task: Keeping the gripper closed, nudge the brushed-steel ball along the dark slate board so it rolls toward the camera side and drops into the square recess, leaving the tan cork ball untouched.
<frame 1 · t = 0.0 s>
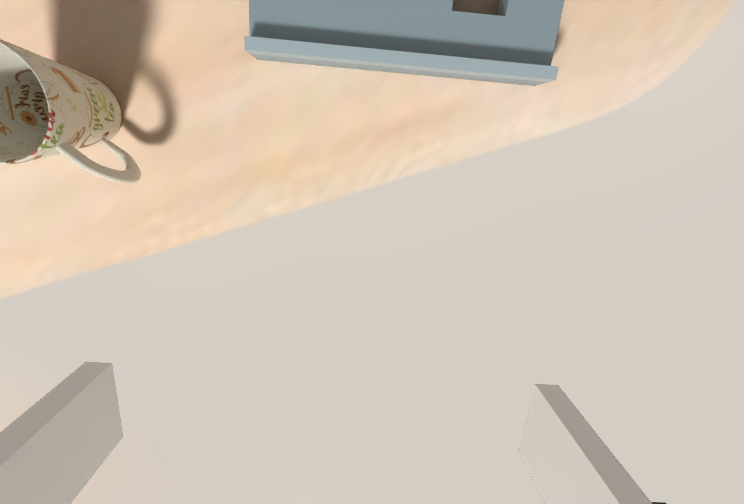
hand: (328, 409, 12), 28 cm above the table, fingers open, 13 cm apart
mug: (110, 126, 35), on the table
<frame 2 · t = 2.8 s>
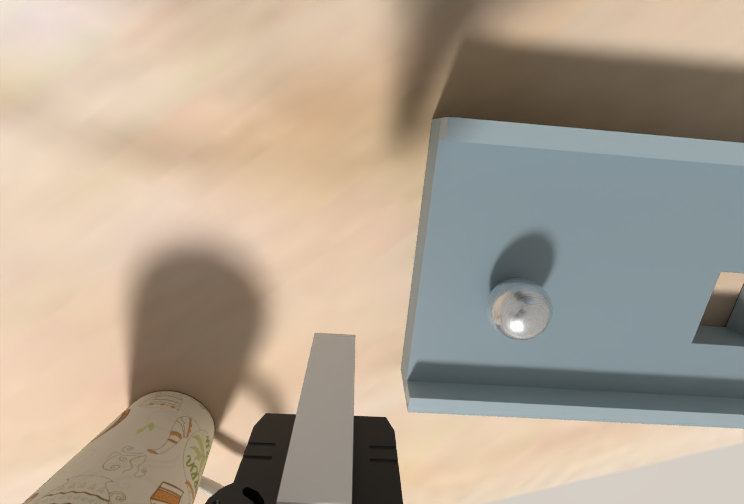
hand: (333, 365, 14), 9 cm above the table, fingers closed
steel ball: (518, 308, 19), point 4 cm above the table, touching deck
mug: (198, 438, 27), on the table
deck: (620, 272, 23), on the table
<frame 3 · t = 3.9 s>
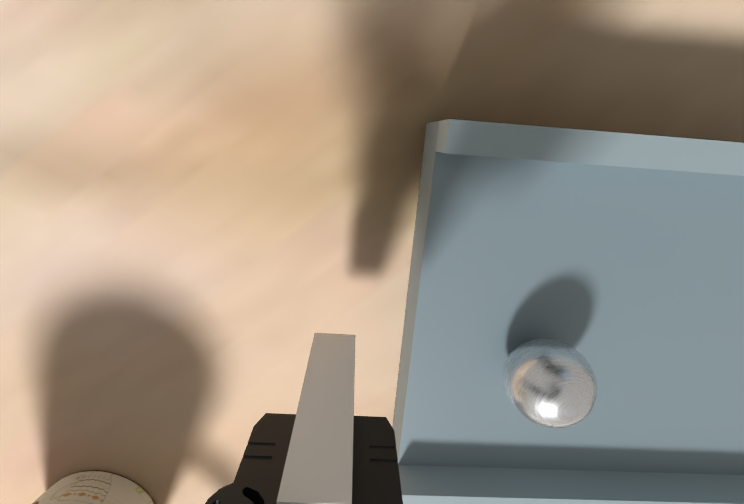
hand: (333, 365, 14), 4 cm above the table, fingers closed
steel ball: (547, 381, 14), point 4 cm above the table, touching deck
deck: (670, 317, 18), on the table
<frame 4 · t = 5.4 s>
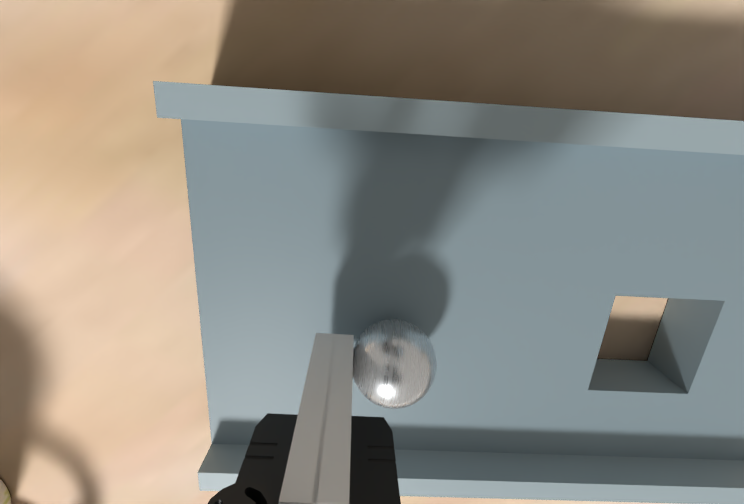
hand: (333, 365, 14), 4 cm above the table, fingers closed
steel ball: (393, 362, 14), point 4 cm above the table, tilted 91°, touching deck, gripper
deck: (498, 294, 18), on the table
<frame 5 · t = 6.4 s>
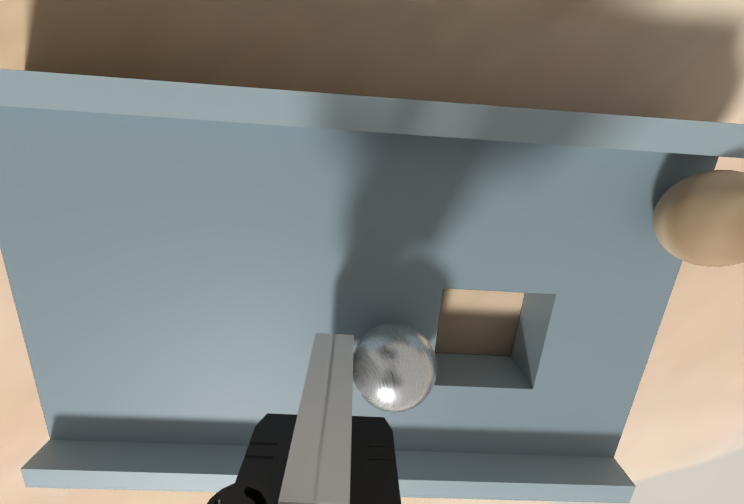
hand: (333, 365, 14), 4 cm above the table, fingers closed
cork ball: (712, 218, 12), point 4 cm above the table, touching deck
steel ball: (394, 366, 14), point 4 cm above the table, tilted 54°, touching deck, gripper
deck: (350, 288, 17), on the table
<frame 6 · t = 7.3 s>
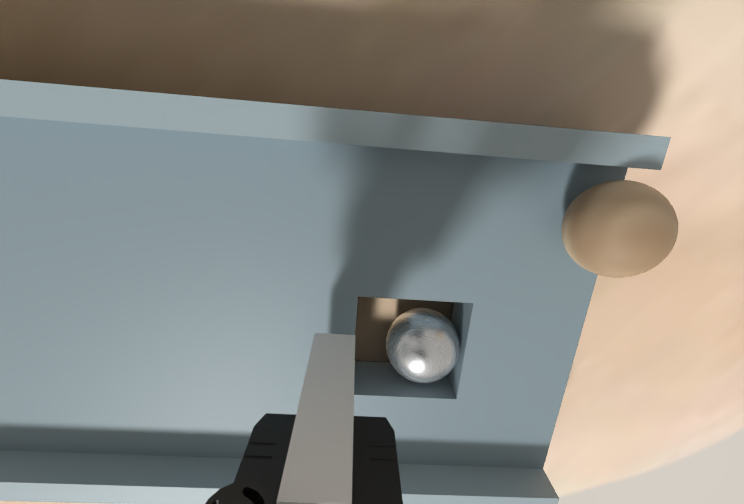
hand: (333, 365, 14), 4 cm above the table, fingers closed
cork ball: (615, 229, 12), point 4 cm above the table, touching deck
steel ball: (422, 344, 16), point 2 cm above the table, tilted 159°
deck: (276, 294, 17), on the table
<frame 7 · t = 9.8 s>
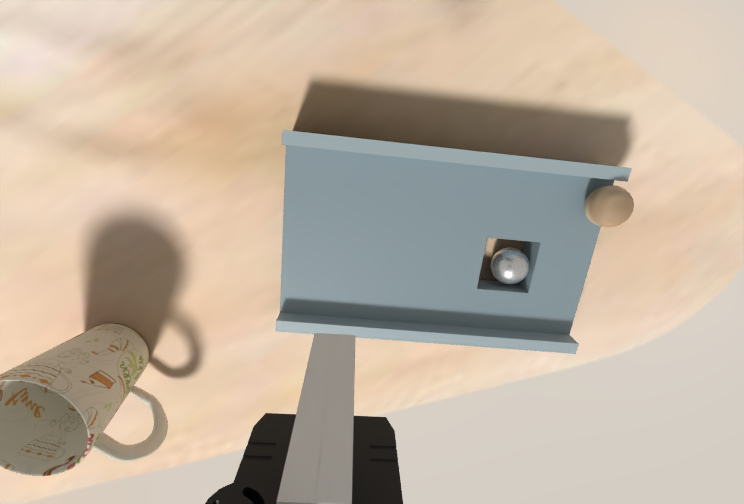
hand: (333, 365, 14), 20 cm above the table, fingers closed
cork ball: (608, 206, 28), point 4 cm above the table, touching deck
steel ball: (509, 265, 32), point 2 cm above the table, tilted 153°
mug: (137, 362, 36), on the table
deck: (434, 240, 33), on the table
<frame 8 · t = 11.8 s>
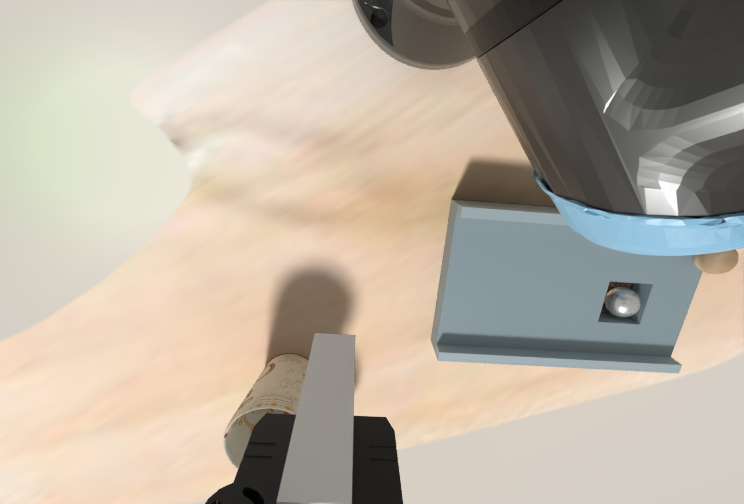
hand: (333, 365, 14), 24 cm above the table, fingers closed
cork ball: (714, 257, 35), point 4 cm above the table, touching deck
steel ball: (622, 301, 39), point 2 cm above the table, tilted 149°
mug: (304, 385, 43), on the table
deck: (558, 281, 40), on the table
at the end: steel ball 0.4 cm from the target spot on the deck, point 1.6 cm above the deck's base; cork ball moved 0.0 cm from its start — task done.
